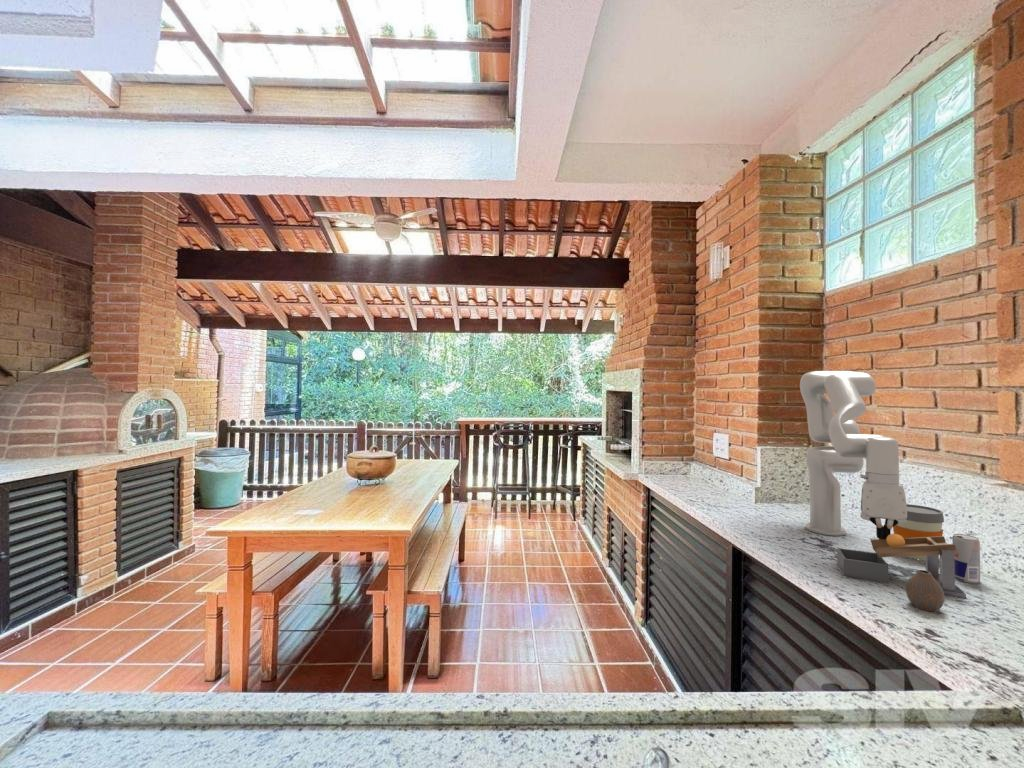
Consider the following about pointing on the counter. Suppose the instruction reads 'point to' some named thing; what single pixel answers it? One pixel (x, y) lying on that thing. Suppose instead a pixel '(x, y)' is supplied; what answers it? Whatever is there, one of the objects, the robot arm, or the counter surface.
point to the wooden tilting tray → (912, 547)
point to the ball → (895, 540)
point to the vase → (925, 591)
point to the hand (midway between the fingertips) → (883, 540)
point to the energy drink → (967, 558)
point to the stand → (944, 572)
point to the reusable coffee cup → (920, 524)
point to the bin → (862, 565)
